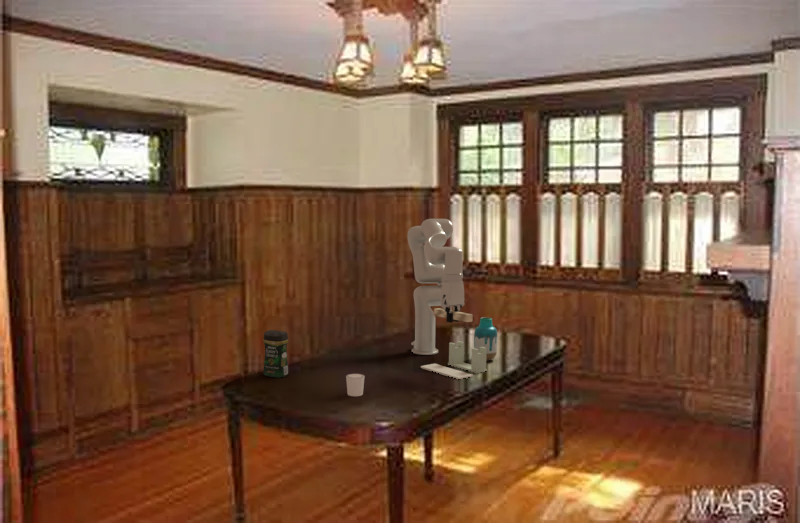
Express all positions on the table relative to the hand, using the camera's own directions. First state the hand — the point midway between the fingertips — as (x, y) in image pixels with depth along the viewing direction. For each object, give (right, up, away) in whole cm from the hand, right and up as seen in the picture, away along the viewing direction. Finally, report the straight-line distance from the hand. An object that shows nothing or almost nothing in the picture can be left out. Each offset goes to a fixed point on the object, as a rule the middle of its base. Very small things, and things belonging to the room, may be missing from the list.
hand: (452, 321), depth 289 cm
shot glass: (-39, -24, -33) cm, 56 cm away
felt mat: (-3, -21, 0) cm, 22 cm away
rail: (0, +1, 0) cm, 1 cm away
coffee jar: (-73, -22, -8) cm, 76 cm away
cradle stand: (+7, -21, +8) cm, 23 cm away
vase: (+16, -20, +23) cm, 34 cm away
